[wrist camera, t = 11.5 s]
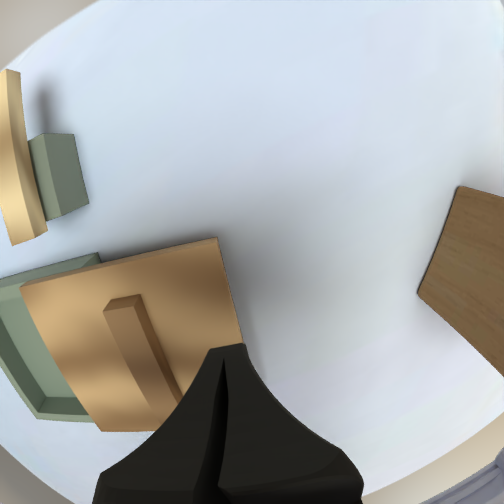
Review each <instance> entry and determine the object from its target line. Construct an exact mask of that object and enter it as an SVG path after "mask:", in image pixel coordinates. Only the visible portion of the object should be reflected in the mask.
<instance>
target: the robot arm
mask: <svg viewBox="0 0 504 504" xmlns="http://www.w3.org/2000/svg"><path fill="white" fill-rule="evenodd" d="M363 488H364V482H363V478H362V476H361V475H360V473H359V471H358V469H357V468H356V467H355V465H354V464H353V463H352V461H351V460H350V459H349V458H348V456H347V455H346V454H345V453H344V452H343V451H342V449H340V448H338V447H336V446H335V445H333V444H331V443H329V442H328V441H326V440H325V439H323V438H321V437H320V436H319V435H317V434H316V433H314V432H313V431H311V430H310V429H309V428H307V427H306V426H305V425H304V424H302V423H301V422H300V421H299V420H298V419H296V418H295V417H294V416H293V415H292V414H291V413H290V412H289V411H288V410H287V409H286V408H285V407H283V405H282V404H281V403H280V402H279V401H278V400H277V399H276V398H275V397H274V396H273V394H272V393H271V392H270V391H269V389H268V388H267V387H266V385H265V384H264V383H263V381H262V380H261V378H260V377H259V375H258V374H257V372H256V370H255V369H254V367H253V365H252V363H251V361H250V359H249V356H248V352H247V348H246V345H245V344H244V343H237V344H232V345H227V346H221V347H216V348H210V349H209V350H208V352H207V354H206V356H205V358H204V361H203V363H202V365H201V367H200V368H199V370H198V372H197V374H196V376H195V378H194V380H193V381H192V383H191V385H190V387H189V388H188V390H187V391H186V393H185V394H184V396H183V397H182V399H181V401H180V402H179V404H178V405H177V406H176V408H175V409H174V410H173V412H172V413H171V414H170V416H169V417H168V418H167V419H166V420H165V422H164V423H163V424H162V425H161V426H160V427H159V428H158V429H157V430H156V431H155V432H154V433H153V434H152V435H151V436H150V437H149V438H148V439H147V440H146V441H145V442H144V443H143V444H141V445H140V446H139V447H138V448H137V449H135V450H134V451H133V452H132V453H130V454H129V455H128V456H126V457H125V458H124V459H122V460H121V461H119V462H118V463H116V464H115V465H113V466H111V467H110V468H108V469H107V470H105V471H103V472H102V473H100V476H99V479H98V482H97V485H96V489H95V493H94V498H93V502H92V504H363V503H362V500H361V496H362V492H363ZM0 504H3V503H1V502H0ZM420 504H504V448H503V449H502V450H501V451H500V452H499V454H498V455H497V456H496V458H495V460H494V461H493V462H491V463H490V464H488V465H487V466H485V467H484V468H482V469H481V470H479V471H478V472H476V473H475V474H473V475H472V476H470V477H468V478H466V479H465V480H463V481H461V482H460V483H458V484H456V485H455V486H453V487H451V488H449V489H447V490H446V491H444V492H442V493H440V494H438V495H436V496H434V497H432V498H430V499H428V500H426V501H424V502H422V503H420Z"/></svg>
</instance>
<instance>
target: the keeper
mask: <svg viewBox="0 0 504 504" xmlns="http://www.w3.org/2000/svg"><path fill="white" fill-rule="evenodd" d="M27 142H28V148H29V153H30V159H31V164H32V169H33V174H34V178H35V183H36V187H37V191H38V195H39V199H40V203H41V207H42V210H43V214H44V218H45V221H49V220H52V219H54V218H57V217H60V216H63V215H65V214H67V213H69V212H71V211H73V210H75V209H78V208H80V207H82V206H84V205H86V204H89V201H88V197H87V193H86V189H85V185H84V181H83V177H82V173H81V168H80V164H79V159H78V154H77V149H76V144H75V139H74V134H51V133H43V134H41V135H39V136H37V137H35V138H33V139H31V140H29V141H27Z"/></svg>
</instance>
